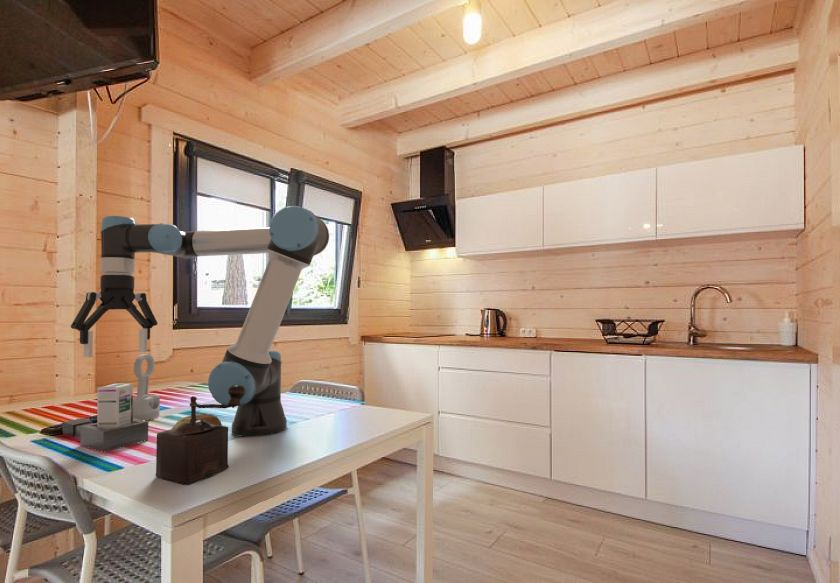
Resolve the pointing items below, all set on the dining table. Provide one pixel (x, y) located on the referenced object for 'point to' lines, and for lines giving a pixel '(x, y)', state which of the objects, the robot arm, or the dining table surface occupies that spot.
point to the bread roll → (205, 417)
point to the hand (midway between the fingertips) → (116, 354)
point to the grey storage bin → (106, 434)
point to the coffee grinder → (195, 445)
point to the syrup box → (115, 405)
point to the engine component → (145, 391)
